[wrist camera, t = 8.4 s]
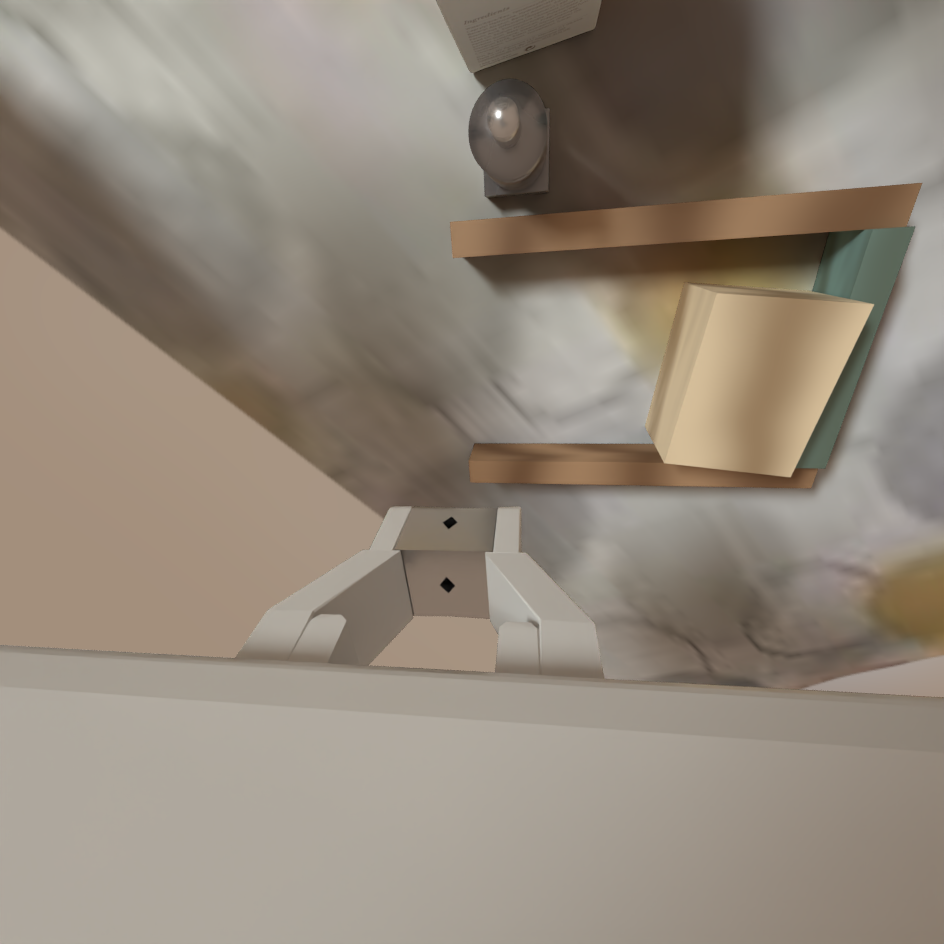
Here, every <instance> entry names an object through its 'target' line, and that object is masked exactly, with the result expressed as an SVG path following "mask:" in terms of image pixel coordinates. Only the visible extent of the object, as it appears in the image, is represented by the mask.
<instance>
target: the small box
mask: <svg viewBox="0 0 944 944" xmlns="http://www.w3.org/2000/svg"><path fill="white" fill-rule="evenodd" d="M436 2H437V4H438V6H439V8H440V10H441V13H442V15H443V17H444V19H445V21H446V24H447V25H448V28H449V30H450V32H451V34H452V36H453V38H454V40H455V42H456V45H457V47H458V49H459V51H460V53H461V55H462V57H463V59H464V61H465V63H466V65H467V67H468V69H469V71H470V73H474V72H476V71H479V70H482V69H484V68H487V67H490V66H493V65H496V64H499V63H501V62H504V61H507V60H510V59H513V58H515V57H518V56H521V55H524V54H526V53H529V52H532V51H535V50H538V49H541V48H543V47H546V46H549V45H551V44H554V43H557V42H560V41H562V40H565V39H568V38H571V37H574V36H576V35H579V34H582V33H585V32H587V31H590V30H593V29H594V28H595V27H596V24H597V19H598V15H599V11H600V6H601V2H602V0H436Z"/></svg>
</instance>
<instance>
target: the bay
mask: <svg viewBox="0 0 944 944" xmlns="http://www.w3.org/2000/svg"><path fill="white" fill-rule="evenodd" d="M921 185H922V183H914V184H902V185H890V186H878V187H866V188H854V189H842V190H830V191H818V192H806V193H794V194H782V195H770V196H758V197H746V198H734V199H722V200H709V201H697V202H685V203H673V204H661V205H649V206H637V207H625V208H613V209H601V210H589V211H577V212H565V213H553V214H541V215H529V216H517V217H505V218H493V219H481V220H468V221H456V222H450V228H451V241H452V254H453V258H460V257H475V256H489V255H504V254H518V253H533V252H547V251H562V250H576V249H591V248H605V247H619V246H634V245H648V244H663V243H677V242H692V241H706V240H721V239H735V238H750V237H764V236H779V235H793V234H808V233H822V232H829V235H828V239H827V242H826V246H825V249H824V253H823V256H822V260H821V263H820V266H819V270H818V273H817V277H816V280H815V284H814V287H813V290H812V291H813V292H818V293H823V294H827V295H832V296H837V297H842V298H847V299H852V300H856V301H861V302H866V303H871V304H874V306H873V308H872V310H871V312H870V314H869V317H868V319H867V321H866V323H865V325H864V327H863V329H862V331H861V333H860V335H859V337H858V339H857V341H856V343H855V345H854V348H853V350H852V352H851V354H850V356H849V358H848V360H847V362H846V364H845V366H844V368H843V370H842V372H841V374H840V376H839V378H838V381H837V383H836V385H835V387H834V389H833V391H832V393H831V395H830V397H829V399H828V401H827V403H826V405H825V407H824V409H823V412H822V414H821V416H820V418H819V420H818V422H817V424H816V426H815V428H814V430H813V432H812V434H811V436H810V438H809V440H808V442H807V445H806V447H805V449H804V451H803V453H802V455H801V457H800V459H799V461H798V463H797V465H796V467H795V469H794V471H793V473H792V476H791V477H783V476H774V475H765V474H756V473H747V472H738V471H729V470H720V469H711V468H703V467H694V466H685V465H676V464H667V463H664V462H663V460H662V458H661V456H660V454H659V452H658V450H657V448H656V447H655V445H654V444H474V447H473V450H472V453H471V456H470V459H469V471H470V482H475V483H533V484H591V485H649V486H707V487H765V488H811V487H812V484H813V482H814V479H815V476H816V473H817V471H818V468H819V469H825V468H826V465H827V462H828V460H829V457H830V454H831V452H832V449H833V446H834V444H835V441H836V438H837V436H838V433H839V430H840V428H841V425H842V422H843V420H844V417H845V414H846V412H847V409H848V406H849V403H850V401H851V398H852V395H853V393H854V390H855V387H856V385H857V382H858V379H859V377H860V374H861V371H862V369H863V366H864V363H865V361H866V358H867V355H868V353H869V350H870V347H871V345H872V342H873V339H874V336H875V334H876V331H877V328H878V326H879V323H880V320H881V318H882V315H883V312H884V310H885V307H886V304H887V302H888V299H889V296H890V294H891V291H892V288H893V286H894V283H895V280H896V277H897V275H898V272H899V269H900V267H901V264H902V261H903V259H904V256H905V253H906V251H907V248H908V245H909V243H910V240H911V237H912V235H913V232H914V229H915V227H916V226H914V227H906V226H907V224H908V221H909V218H910V215H911V213H912V210H913V207H914V204H915V202H916V199H917V196H918V193H919V191H920V188H921Z"/></svg>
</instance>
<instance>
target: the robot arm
mask: <svg viewBox="0 0 944 944" xmlns="http://www.w3.org/2000/svg"><path fill="white" fill-rule="evenodd" d="M413 616H455V617H471V618H486V619H490V621H491V623H492V625H493V627H494V628H495V630H496V632H497V634H498V645H497V657H496V668H495V673H493V672H476V671H459V670H440V669H423V668H404V667H385V666H368V665H369V664H370V663H371V662H372V661H373V660H374V659H375V658H376V657H377V656H378V655H379V654H380V653H381V652H382V651H383V649H384V648H385V647H386V646H387V645H388V644H389V643H390V642H391V641H392V640H393V639H394V638H395V637H396V636H397V635H398V633H400V631H401V630H402V629H403V628H404V627H405V626H406V625H407V624H408V623H409V622H410V621H411V620H412V619H413ZM0 944H944V698H943V697H942V698H941V697H925V696H907V695H906V696H905V695H889V694H871V693H870V694H869V693H852V692H835V691H817V690H816V691H815V690H799V689H781V688H763V687H745V686H727V685H709V684H691V683H672V682H653V681H634V680H615V679H604V674H603V668H602V662H601V656H600V651H599V645H598V639H597V633H596V628H595V623H594V622H593V621H592V620H591V619H590V618H589V617H588V616H587V615H586V614H585V613H584V612H583V611H582V610H581V609H580V608H579V607H578V606H577V605H576V604H575V603H574V602H573V600H572V599H571V598H570V597H569V596H568V595H567V594H566V593H565V592H564V591H563V590H562V589H561V588H560V587H559V586H558V585H557V584H556V583H555V582H554V581H553V580H552V579H551V578H550V577H549V576H548V574H547V573H546V572H545V571H544V570H543V569H542V568H541V567H540V566H539V565H538V564H537V563H536V562H535V561H534V560H533V559H532V558H531V557H530V556H529V555H528V554H527V553H522V540H521V508H520V507H498V508H456V507H420V506H414V507H412V506H393V507H391V508H390V509H389V510H388V512H387V514H386V516H385V518H384V520H383V522H382V525H381V526H380V529H379V530H378V532H377V534H376V537H375V538H374V540H373V543H372V545H371V547H370V549H369V550H362V551H360V552H358V553H357V554H355V555H354V556H352V557H350V558H349V559H347V560H346V561H344V562H343V563H341V564H339V565H338V566H336V567H335V568H333V569H332V570H330V571H328V572H327V573H325V574H324V575H322V576H321V577H319V578H317V579H316V580H314V581H313V582H311V583H310V584H308V585H306V586H305V587H303V588H302V589H300V590H299V591H297V592H295V593H294V594H292V595H291V596H289V597H288V598H286V599H284V600H283V601H281V602H280V603H278V604H276V605H275V606H273V607H272V608H270V609H269V610H268V611H267V612H266V613H265V615H264V616H263V618H262V619H261V621H260V622H259V624H258V625H257V626H256V628H255V629H254V631H253V633H252V634H251V635H250V637H249V638H248V640H247V641H246V643H245V644H244V646H243V647H242V649H241V650H240V651H239V653H238V654H237V656H236V657H235V658H223V657H204V656H186V655H168V654H150V653H132V652H115V651H97V650H79V649H61V648H43V647H25V646H8V645H0Z"/></svg>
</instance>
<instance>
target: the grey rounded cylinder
mask: <svg viewBox="0 0 944 944" xmlns="http://www.w3.org/2000/svg"><path fill="white" fill-rule="evenodd" d="M549 124H550V108H546V109H545V107H544V104H543V102H542V100H541V98H540V96H539V95H538V93H537V92H536V91H535V90H534V89H533V88H532V87H531V86H530V85H528V84H527V83H525V82H523V81H520V80H517V79H505V80H501V81H498V82H496V83H494V84H492V85H491V86H489V87H488V88H487V89H486V90H485V91H484V92H483V93H482V94H481V95H480V97H479V98H478V100H477V102H476V103H475V105H474V108H473V110H472V113H471V116H470V121H469V143H470V148H471V151H472V154H473V156H474V158H475V160H476V161H477V163H478V164H479V166H480V167H481V168H482V169H483V170H484V190H485V197H487V198H491V197H502V196H513V195H524V194H535V193H546V192H548V185H549Z"/></svg>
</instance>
